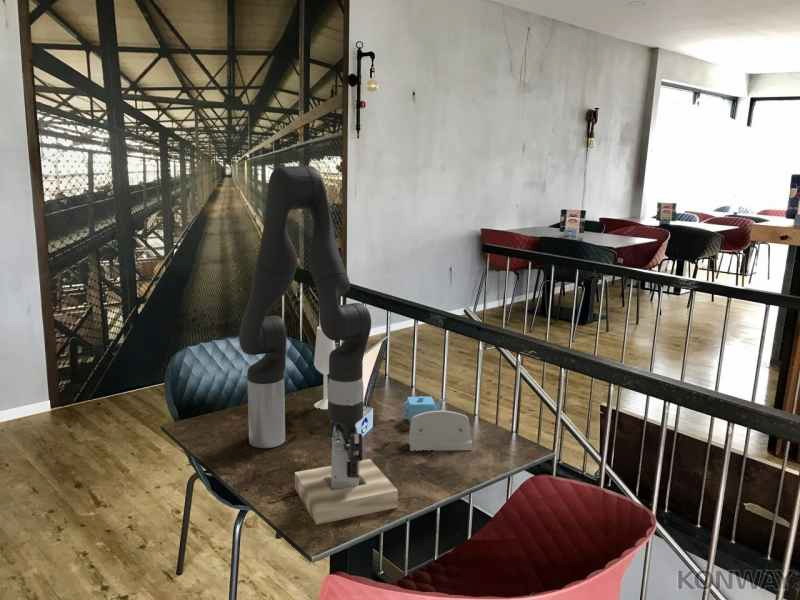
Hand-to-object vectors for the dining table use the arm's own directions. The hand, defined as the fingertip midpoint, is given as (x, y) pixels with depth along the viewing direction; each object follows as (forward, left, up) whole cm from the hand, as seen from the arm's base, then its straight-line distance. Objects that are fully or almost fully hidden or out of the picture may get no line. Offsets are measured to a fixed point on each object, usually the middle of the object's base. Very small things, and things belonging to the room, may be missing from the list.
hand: (345, 467), depth 142 cm
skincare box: (0, 0, -7) cm, 7 cm away
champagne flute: (-54, +13, -7) cm, 56 cm away
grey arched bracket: (-17, +32, -8) cm, 37 cm away
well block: (0, 0, -7) cm, 7 cm away
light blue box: (-32, +35, -7) cm, 48 cm away
